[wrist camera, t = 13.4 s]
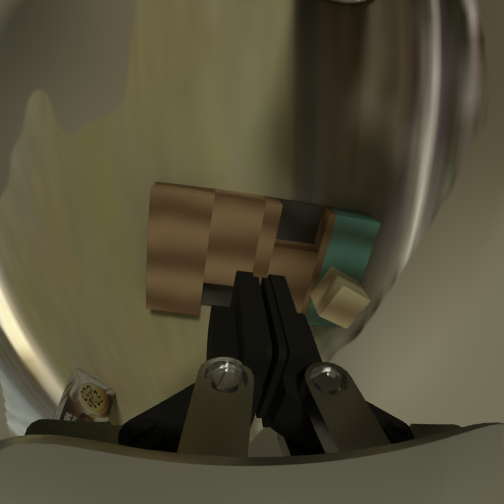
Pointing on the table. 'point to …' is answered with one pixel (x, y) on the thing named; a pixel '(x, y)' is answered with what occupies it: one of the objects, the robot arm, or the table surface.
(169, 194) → the trap board
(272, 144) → the table surface
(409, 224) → the table surface
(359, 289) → the birch block
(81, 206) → the table surface
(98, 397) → the coffee box
